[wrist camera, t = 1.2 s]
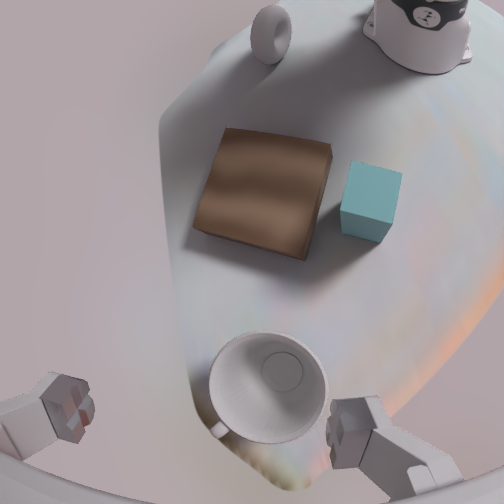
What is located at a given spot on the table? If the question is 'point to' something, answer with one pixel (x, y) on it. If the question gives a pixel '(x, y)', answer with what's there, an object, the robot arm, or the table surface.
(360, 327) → the table surface
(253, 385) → the teacup
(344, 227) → the teal block
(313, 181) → the oak base
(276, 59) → the donut
